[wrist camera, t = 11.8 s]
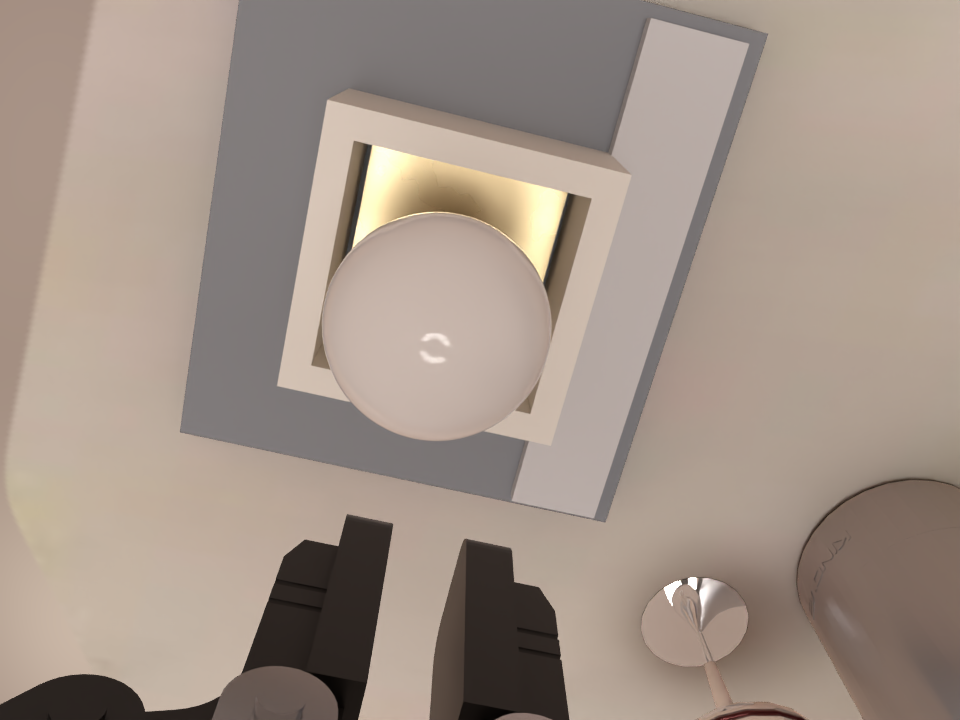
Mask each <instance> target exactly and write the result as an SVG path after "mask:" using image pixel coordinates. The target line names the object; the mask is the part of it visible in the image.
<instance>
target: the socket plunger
mask: <svg viewBox="0 0 960 720" xmlns="http://www.w3.org/2000/svg"><path fill="white" fill-rule="evenodd" d="M567 194H568V193H567V192H563V191H559V190H554V189H550V188H546V187H542V186H538V185H534V184H530V183H526V182H522V181H517V180H513V179H509V178H505V177H501V176H497V175H493V174H489V173H485V172H481V171H476V170H472V169H468V168H464V167H460V166H456V165H452V164H448V163H444V162H440V161H435V160H431V159H427V158H423V157H419V156H415V155H411V154H407V153H403V152H399V151H394V150H390V149H386V148H382V147H378V146H374V145H372V150H371V155H370V160H369V165H368V170H367V175H366V180H365V185H364V191H363V196H362V201H361V206H360V211H359V216H358V221H357V226H356V231H355V237H354V242H353V247H354V246H355V245H356V244H357V243H358V242H359V241H360V240H362V239H363V238H364V237H365V236H366V235H368V234H369V233H371V232H372V231H374V230H375V229H377V228H378V227H380V226H382V225H384V224H386V223H388V222H390V221H392V220H395V219H397V218H400V217H403V216H407V215H411V214H416V213H422V212H451V213H458V214H462V215H466V216H470V217H473V218H476V219H479V220H481V221H483V222H485V223H488V224H490V225H491V226H493V227H495V228H497V229H498V230H500V231H501V232H503V233H504V234H505V235H507V236H508V237H509V238H510V239H512V240H513V241H514V242H515V243H516V244H517V245H518V246H519V247H520V248H521V249H522V250H523V251H524V253H525V254H526V255H527V256H528V258H529V259H530V260H531V262H532V263H533V265H534V266H535V268H536V270H537V272H538V274H539V275H540V278H541V280H542V282H543V281H544V277H545V273H546V270H547V266H548V263H549V259H550V255H551V252H552V248H553V244H554V241H555V237H556V234H557V230H558V226H559V223H560V219H561V215H562V212H563V208H564V205H565V201H566V197H567ZM353 247H352V248H353Z"/></svg>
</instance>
